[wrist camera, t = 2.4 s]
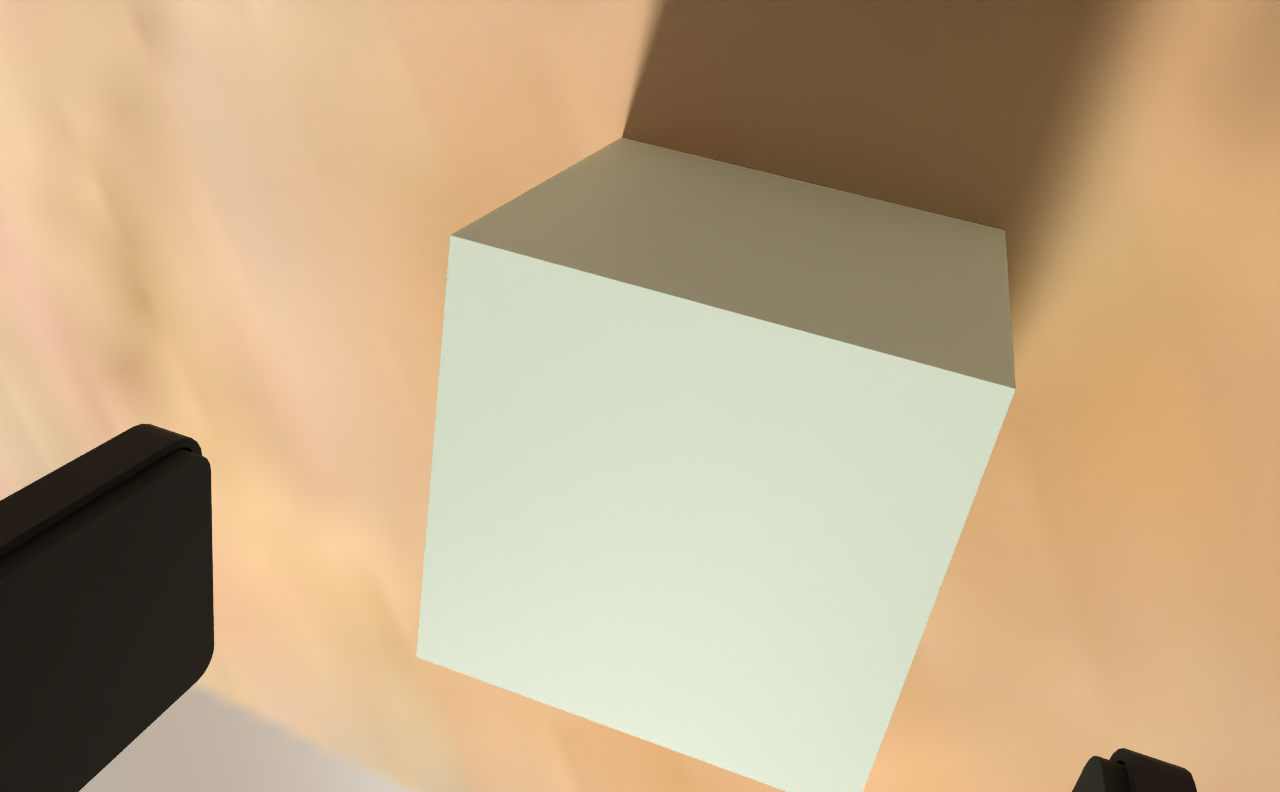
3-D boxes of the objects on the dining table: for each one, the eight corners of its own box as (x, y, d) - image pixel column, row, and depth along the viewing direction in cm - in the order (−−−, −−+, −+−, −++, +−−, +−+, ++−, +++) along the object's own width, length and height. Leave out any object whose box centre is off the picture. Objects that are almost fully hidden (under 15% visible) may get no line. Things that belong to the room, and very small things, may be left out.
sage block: (623, 136, 16) (451, 235, 11) (1005, 229, 15) (1015, 388, 10) (573, 455, 19) (416, 656, 14) (892, 554, 18) (853, 815, 12)
